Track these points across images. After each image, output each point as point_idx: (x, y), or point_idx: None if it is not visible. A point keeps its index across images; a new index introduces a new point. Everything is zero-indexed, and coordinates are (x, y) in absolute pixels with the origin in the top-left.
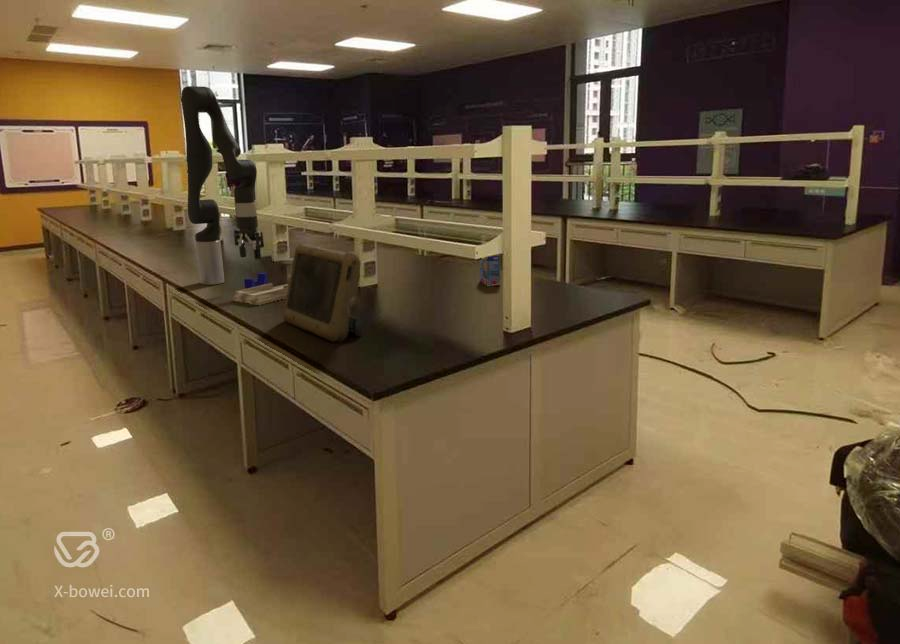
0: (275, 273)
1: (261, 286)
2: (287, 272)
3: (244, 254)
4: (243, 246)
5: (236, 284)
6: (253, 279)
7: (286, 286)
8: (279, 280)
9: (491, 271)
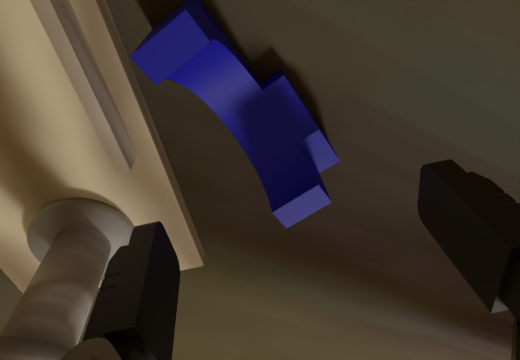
0: None
1: (73, 85)
2: (43, 290)
3: (435, 217)
4: (515, 306)
5: (495, 86)
6: (156, 81)
7: (77, 216)
8: (371, 265)
9: None
